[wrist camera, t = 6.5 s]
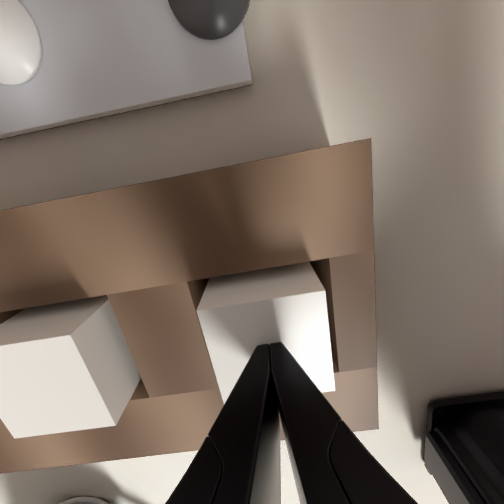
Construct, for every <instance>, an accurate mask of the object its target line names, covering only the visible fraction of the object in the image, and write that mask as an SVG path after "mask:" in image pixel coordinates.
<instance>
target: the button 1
mask: <svg viewBox="0 0 504 504" xmlns="http://www.w3.org/2000/svg"><path fill="white" fill-rule="evenodd" d="M196 311H197V314H198V318H199V321H200V325H201V328H202V331H203V335H204V338H205V342H206V345H207V348H208V352H209V355H210V359H211V362H212V365H213V369H214V372H215V376H216V379H217V382H218V386H219V389H220V392H221V396H222V399H223V403H224V404H225V402H226V400H227V398H228V397H229V395H230V393H231V391H232V389H233V388H234V386H235V384H236V382H237V380H238V379H239V377H240V375H241V373H242V371H243V369H244V368H245V366H246V364H247V362H248V360H249V359H250V357H251V355H252V353H253V351H254V350H255V348H256V346H257V345H262V344H269V346H270V344H271V343H275V342H282V343H283V344H284V345H285V347H286V348H287V349H288V351H289V352H290V353H291V354H292V356H293V357H294V358H295V359H296V361H297V362H298V363H299V365H300V366H301V367H302V368H303V370H304V371H305V372H306V374H307V375H308V376H309V377H310V379H311V380H312V381H313V382H314V384H315V385H316V386H317V388H318V389H319V390H320V391H321V392H329V391H335V383H334V373H333V363H332V353H331V342H330V332H329V322H328V312H327V302H326V292H325V289H324V287H323V285H322V284H321V282H320V280H319V278H318V277H317V275H316V273H315V271H314V270H313V268H312V266H311V264H310V263H309V261H308V262H302V263H296V264H290V265H284V266H278V267H272V268H266V269H259V270H253V271H247V272H241V273H235V274H229V275H223V276H217V277H211V278H209V280H208V283H207V285H206V288H205V290H204V293H203V295H202V298H201V300H200V303H199V305H198V308H197V310H196Z"/></svg>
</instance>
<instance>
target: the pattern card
mask: <svg viewBox="0 0 504 504" xmlns="http://www.w3.org/2000/svg"><path fill="white" fill-rule="evenodd" d="M249 3H250V0H0V139H2V138H7V137H12V136H16V135H21V134H26V133H30V132H35V131H39V130H44V129H49V128H53V127H58V126H63V125H67V124H72V123H76V122H81V121H86V120H90V119H95V118H99V117H104V116H109V115H113V114H118V113H123V112H127V111H132V110H136V109H141V108H146V107H150V106H155V105H160V104H164V103H169V102H173V101H178V100H183V99H187V98H192V97H196V96H201V95H206V94H210V93H215V92H220V91H224V90H229V89H233V88H238V87H243V86H247V85H252V77H251V71H250V64H249V58H248V52H247V45H246V39H245V32H244V26H243V19H244V17H245V15H246V12H247V10H248V7H249Z"/></svg>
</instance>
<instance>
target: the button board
mask: <svg viewBox="0 0 504 504" xmlns="http://www.w3.org/2000/svg"><path fill="white" fill-rule="evenodd" d="M308 261H310V264H311V266H312V268H313V270H314V271H315V273H316V275H317V277H318V278H319V280H320V282H321V284H322V285H323V287H324V289H325V292H326V302H327V312H328V322H329V332H330V342H331V353H332V363H333V373H334V383H335V391H329V392H321V393H322V394H323V395H324V397H325V398H326V399H327V400H328V402H329V403H330V404H331V405H332V407H333V408H334V409H335V411H336V412H337V413H338V414H339V416H340V417H341V419H342V420H343V421H344V422H345V423H346V424H347V426H348V427H349V428H350V429H351V431H352V432H356V431H364V430H373V429H379V424H378V385H377V347H376V308H375V269H374V231H373V192H372V154H371V138H370V139H365V140H359V141H354V142H349V143H344V144H339V145H334V146H329V147H324V148H319V149H313V150H308V151H303V152H298V153H293V154H288V155H283V156H278V157H273V158H267V159H262V160H257V161H252V162H247V163H242V164H237V165H232V166H226V167H221V168H216V169H211V170H206V171H201V172H196V173H191V174H186V175H180V176H175V177H170V178H165V179H160V180H155V181H150V182H145V183H139V184H134V185H129V186H124V187H119V188H114V189H109V190H104V191H99V192H93V193H88V194H83V195H78V196H73V197H68V198H63V199H58V200H53V201H47V202H42V203H37V204H32V205H27V206H22V207H17V208H12V209H6V210H1V211H0V324H2V323H3V322H5V321H6V320H8V319H10V318H11V317H13V316H14V315H16V314H18V313H19V312H21V311H22V310H24V309H26V308H30V307H36V306H42V305H48V304H54V303H60V302H66V301H72V300H78V299H84V298H90V297H96V296H103V295H107V297H108V300H109V302H110V304H111V307H112V309H113V312H114V314H115V316H116V319H117V321H118V324H119V326H120V328H121V331H122V333H123V335H124V338H125V340H126V343H127V345H128V347H129V350H130V352H131V354H132V357H133V359H134V362H135V364H136V366H137V369H138V371H139V374H140V376H141V379H140V381H139V383H138V385H137V387H136V389H135V391H134V393H133V394H132V396H131V398H130V400H129V402H128V404H127V406H126V408H125V409H124V411H123V413H122V415H121V417H120V419H119V421H118V423H117V424H116V426H109V427H102V428H94V429H86V430H78V431H70V432H63V433H55V434H47V435H39V436H31V437H24V438H16V439H14V437H13V436H12V434H11V433H10V432H9V430H8V429H7V427H6V426H5V424H4V423H3V422H2V420H1V419H0V474H1V473H10V472H18V471H26V470H35V469H43V468H52V467H60V466H69V465H77V464H86V463H94V462H102V461H111V460H119V459H128V458H136V457H145V456H153V455H162V454H170V453H178V452H187V451H195V450H199V449H200V447H201V445H202V444H203V442H204V440H205V438H206V437H207V436H208V433H209V431H210V429H211V427H212V426H213V424H214V422H215V420H216V418H217V417H218V415H219V413H220V411H221V409H222V408H223V406H224V403H223V399H222V396H221V392H220V389H219V386H218V382H217V379H216V376H215V372H214V369H213V365H212V362H211V359H210V355H209V352H208V348H207V345H206V342H205V338H204V335H203V331H202V328H201V325H200V321H199V318H198V314H197V311H196V310H197V308H198V305H199V303H200V300H201V298H202V295H203V293H204V290H205V288H206V285H207V283H208V280H209V278H211V277H217V276H223V275H229V274H235V273H241V272H247V271H253V270H259V269H266V268H272V267H278V266H284V265H290V264H296V263H302V262H308ZM279 416H280V414H279ZM280 440H285V436H284V432H283V428H282V423H281V419H280Z"/></svg>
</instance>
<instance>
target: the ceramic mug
mask: <svg viewBox="0 0 504 504" xmlns="http://www.w3.org/2000/svg"><path fill="white" fill-rule="evenodd" d="M59 504H108V503H107V502H106V501H104V500H101V499H99V498H96V497H88V496H81V497H75V498H71V499H68V500H66V501H63V502H61V503H59Z"/></svg>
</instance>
